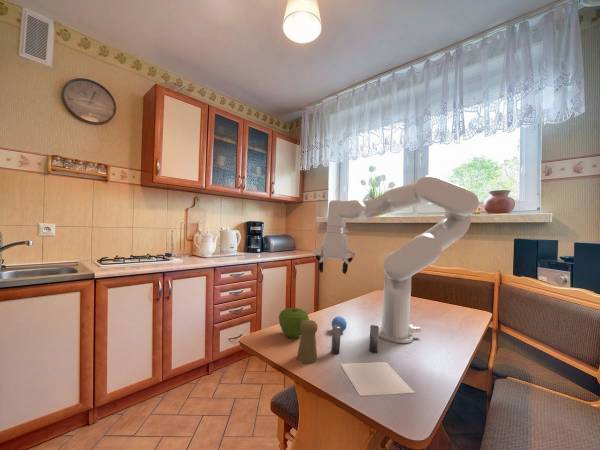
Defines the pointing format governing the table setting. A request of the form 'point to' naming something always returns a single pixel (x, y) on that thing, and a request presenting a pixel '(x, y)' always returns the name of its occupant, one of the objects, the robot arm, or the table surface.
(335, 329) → the post
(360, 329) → the table surface
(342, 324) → the ball
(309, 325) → the olive pawn shape
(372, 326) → the post
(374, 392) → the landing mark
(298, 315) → the apple
